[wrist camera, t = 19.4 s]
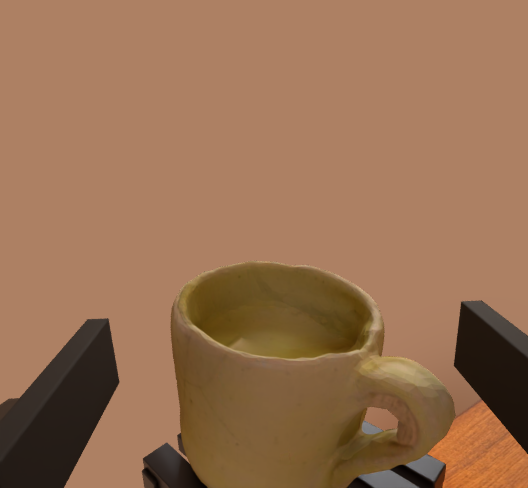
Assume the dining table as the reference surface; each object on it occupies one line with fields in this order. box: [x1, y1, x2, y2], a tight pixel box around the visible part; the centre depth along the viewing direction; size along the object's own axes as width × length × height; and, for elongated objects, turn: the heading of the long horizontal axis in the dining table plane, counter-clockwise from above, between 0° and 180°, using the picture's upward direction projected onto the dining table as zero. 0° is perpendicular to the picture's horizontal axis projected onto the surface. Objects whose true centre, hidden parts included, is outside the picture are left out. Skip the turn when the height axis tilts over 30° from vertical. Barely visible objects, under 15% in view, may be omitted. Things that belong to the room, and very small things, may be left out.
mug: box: [171, 261, 456, 488], centre depth 18 cm, size 12×10×10 cm
